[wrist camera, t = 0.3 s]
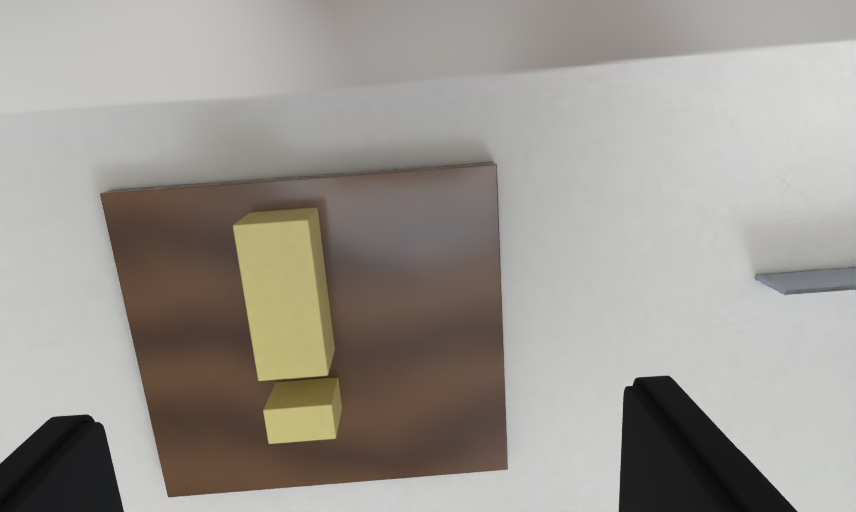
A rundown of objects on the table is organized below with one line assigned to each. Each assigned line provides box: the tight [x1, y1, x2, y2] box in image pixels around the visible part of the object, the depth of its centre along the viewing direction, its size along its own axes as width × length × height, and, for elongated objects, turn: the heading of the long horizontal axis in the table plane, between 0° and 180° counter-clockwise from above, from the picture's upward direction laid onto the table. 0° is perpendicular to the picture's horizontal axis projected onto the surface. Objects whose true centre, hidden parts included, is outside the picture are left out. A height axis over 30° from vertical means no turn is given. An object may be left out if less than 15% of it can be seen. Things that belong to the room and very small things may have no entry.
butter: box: [233, 207, 335, 381], centre depth 29 cm, size 8×4×3 cm, turn 4°
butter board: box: [100, 162, 508, 497], centre depth 32 cm, size 18×20×1 cm
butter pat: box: [263, 377, 342, 444], centre depth 31 cm, size 2×4×3 cm, turn 94°
